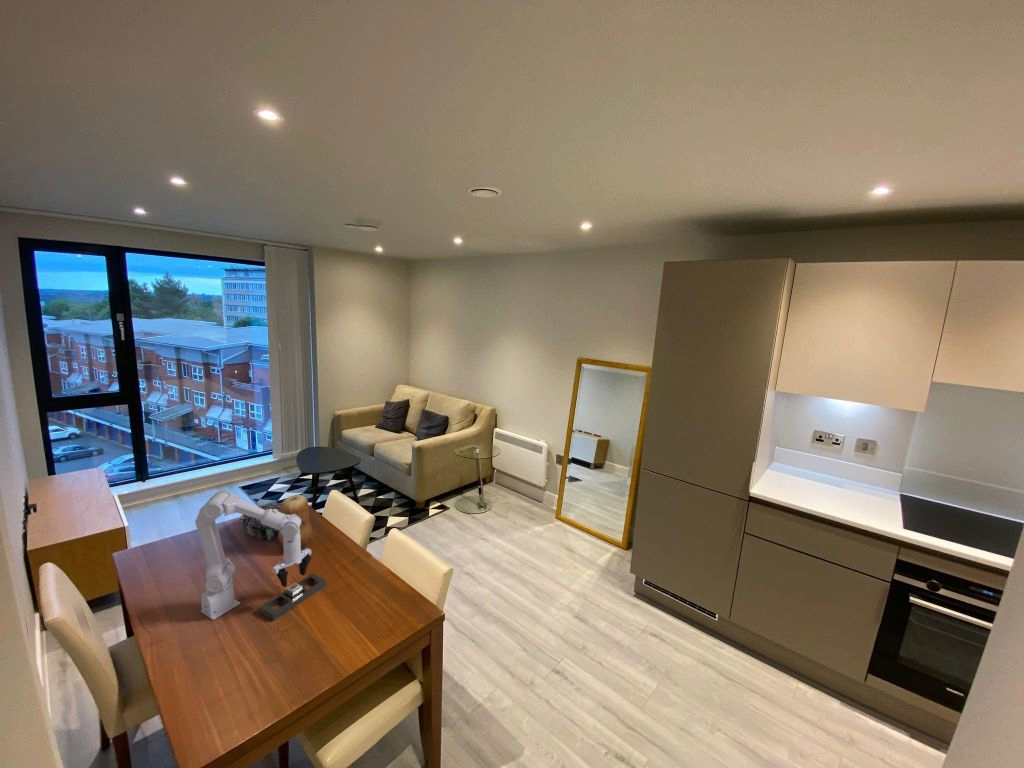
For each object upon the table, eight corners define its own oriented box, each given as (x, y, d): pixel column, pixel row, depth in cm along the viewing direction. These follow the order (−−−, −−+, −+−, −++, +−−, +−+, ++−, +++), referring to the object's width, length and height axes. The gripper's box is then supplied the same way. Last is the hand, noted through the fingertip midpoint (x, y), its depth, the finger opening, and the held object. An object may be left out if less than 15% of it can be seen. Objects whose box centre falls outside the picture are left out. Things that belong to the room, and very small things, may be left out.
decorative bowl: (275, 552, 188) (275, 533, 186) (225, 538, 194) (225, 519, 192) (313, 524, 213) (314, 507, 211) (268, 512, 218) (268, 495, 216)
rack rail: (273, 621, 147) (273, 614, 146) (259, 612, 150) (259, 606, 150) (326, 585, 166) (325, 580, 166) (312, 578, 170) (312, 573, 169)
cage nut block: (293, 603, 156) (292, 591, 155) (286, 599, 157) (285, 588, 156) (302, 597, 159) (302, 585, 158) (295, 593, 161) (295, 582, 160)
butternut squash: (273, 551, 186) (270, 500, 181) (296, 536, 198) (294, 488, 194) (297, 558, 182) (295, 506, 177) (320, 542, 195) (318, 493, 190)
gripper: (280, 561, 146) (282, 594, 149) (316, 541, 159) (317, 573, 161) (268, 554, 149) (270, 588, 152) (304, 536, 162) (305, 567, 164)
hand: (293, 579), depth 157 cm, fingers open, 7 cm apart
